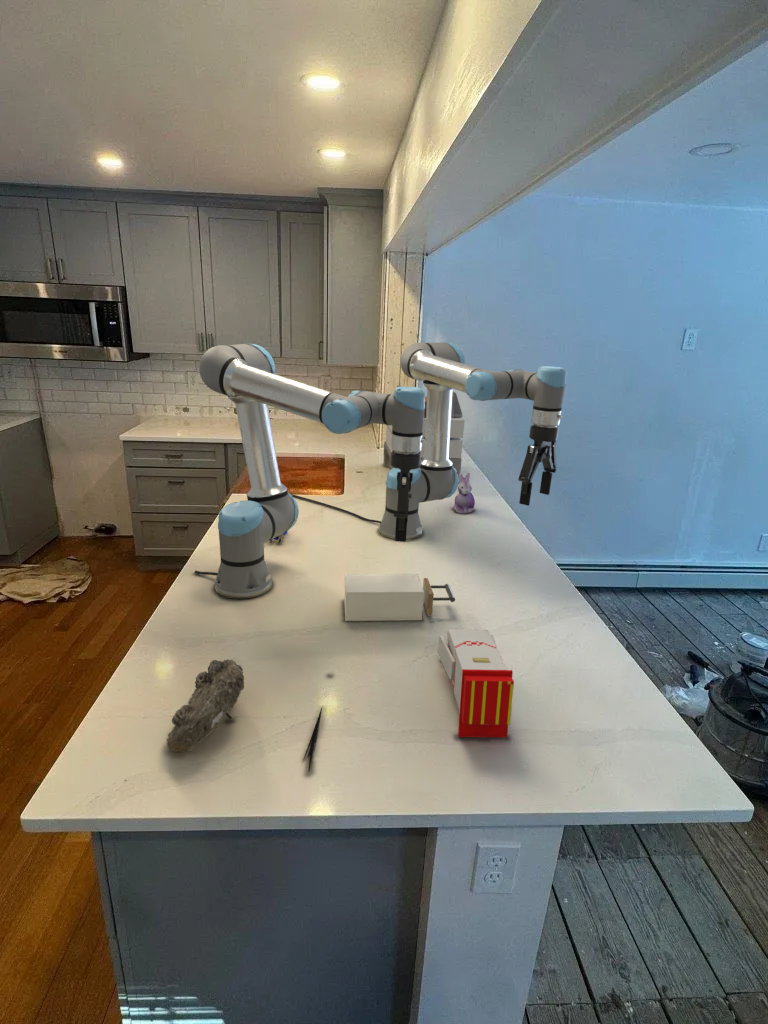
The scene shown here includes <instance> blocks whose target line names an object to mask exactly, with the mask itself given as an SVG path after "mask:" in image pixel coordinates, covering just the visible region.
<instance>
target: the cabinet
mask: <svg viewBox="0 0 768 1024" xmlns="http://www.w3.org/2000/svg"><path fill="white" fill-rule="evenodd" d="M343 593H344V594H343V595H344V598H343V599H344V600H343V601H344V602H343V603H344V619H345V622H363V621H365V622H367V621H368V622H369V621H372V622H373V621H374V622H375V621H381V622H382V621H422V620H423V608H424V607H423V606H424V603H423V596H424V591H423V584H422V583H421V580H420V576H419V574H418V573H345V574H344V592H343Z"/></svg>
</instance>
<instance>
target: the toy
mask: <svg viewBox="0 0 768 1024" xmlns="http://www.w3.org/2000/svg"><path fill="white" fill-rule="evenodd" d="M446 640H447V643H446V641H445V639H444V636H443V635H442V634H439V637H438V646H437V656H438V657H439V659H440V661H441V663H442V666H443V668H444V670H445V672H446V674H447V677H448V679H449V681H450V684H451V687H452V690H453V693H454V697H455V701H456V705H457V708H458V711H459V714H458V715H459V716H458V730H457V731H458V732H457V737H458V738H508V731H509V726H510V725H511V717H512V707H513V697H514V696H513V695H514V684H515V680H514V679H513V673H514V671H513V670H512V669H508V667H507V665H506V662H505V661H504V659H503V658H502V655H501V653H500V651H499V649H498V647H497V643H496V639H495V637H494V635H493V634H491V632H490V631H489V629H467V628H466V629H465V628H463V629H461V628H460V629H459V628H448V630H447V639H446Z"/></svg>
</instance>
